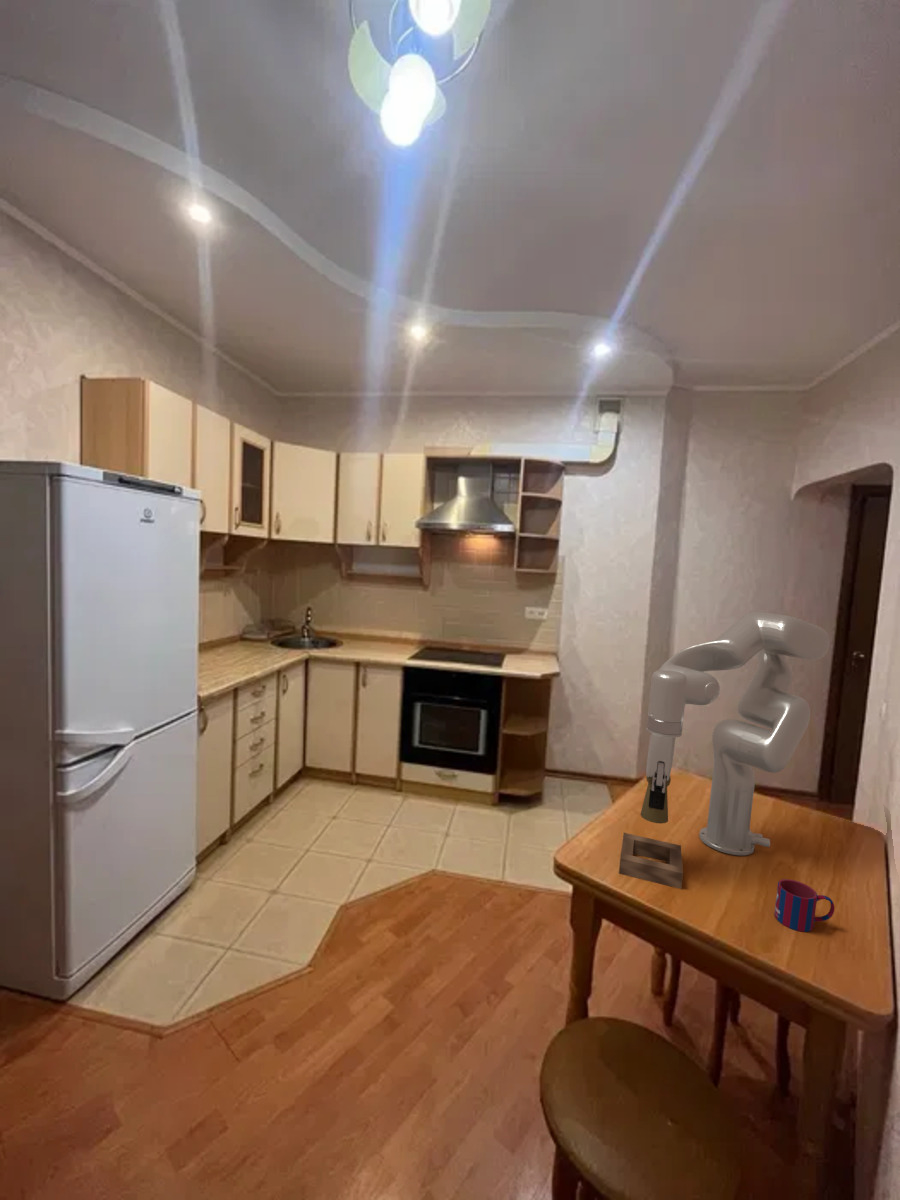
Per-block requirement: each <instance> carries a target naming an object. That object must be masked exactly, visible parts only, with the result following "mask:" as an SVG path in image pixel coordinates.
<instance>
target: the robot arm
mask: <svg viewBox="0 0 900 1200" xmlns="http://www.w3.org/2000/svg"><path fill="white" fill-rule="evenodd" d="M830 645H831V640H830V637H829V634H828V633H827V631H826V630H825V629H824V628H823V627H820V626H819V625H816V624H813V623H811V622H808V621H805V620H803V619H800V618H799V617H795V616H792V615H791V616H790V615H787V614H786V615H785V614H777V613H770V612H762V611H752V612H749V613H746V614H745V615H743V616H742V617H741V618H739V619H738V620H737V621H736V622H735V623H734V624H732V625H731V626H730V627H729V628H728V629H726V631H724V632H723V633H722V634H721V635H719V636H718V637H717V638H715V639H713V640H709V641H705V642H702V643H698V644H696V645H692V646H689V647H687V648H684V649H682V650H680V651H678V652H676V653H674V655H672V656H671V657H670V658H668V660H666V661H665V662H664V663H663V664H662V665H661V666H660V667H659V669H658V670H656V671H654V672H653V673H652V675H651V678H650V679H651V681H650V689H649V699H648V709H647V718H646V728H645V729H646V731H647V732H649V741H648V748H647V758H646V759H647V760H646V768H645V772H646V773H645V775H646V776H647V777H649V776H650V777H652V776H653V777H652V789H650V796H649V807H650V808H655V809H659V810H663V809H664V802H665V782H666V781H668V780H669V778H671V772H672V766H673V761H674V754H675V744H676V739H677V738H680V737H682V733H683V727H684V726H683V725H684V718H685V717H684V716H685V709H686V705H695V706H706V705H710V704H712V703H713V702H714V701H716V699H717V698H718V697H719V695H720V691H721V690H720V688H721V687H720V683H719V681H718V680H717V678H716V677H714V676H713V675H712V674H709V673H707V672H712V671H713V672H715V671H729V670H736V669H740V668H743V666H745V665H746V664H747V663H749V661H750V660H751V659H753V658H754V657H755V656H756V655H757V667H756V670H755V672H754V674H753V676H752V677H751V679H750V681H749V683H748V684H747V686H746V688H745V690H744V691H743V693H742V694H741V697H739V698H740V699H739V700H738V703H737V712H738V714H739V716H740V717H741V718H743V719H745V720H746V721H749V723H748V722H745V721H742V720H740V719H739V720H737V719H732V718H728V719H726V718H725V719H722V720H721V721H719V722H717V724H715V726H714V728H713V731H712V738H711V739H712V741H711V742H712V749H713V750H712V751H713V752H712V753H713V769H712V778H711V779H712V780H711V787H710V796H709V806H708V814H707V815H708V816H707V823H706V824H707V825H706V826H705V827H703V828H701V829H700V830H699V835H698V837H699V838H700V840H701V842H703V843H704V844H705V845H706V846H708V847H709V848H711V849H713V850H716V851H718V852H721V853H724V854H728V855H733V856H749V855H751V854H753V853H754V852H755V846H756V845H759V846H762V847H766V848H770V847H771V839H770V838H766V837H763V835H764V834H762V833H755V832H753V831H751V828H750V826H751V819H752V811H753V810H752V809H753V801H754V794H755V785H756V784H755V783H756V778H755V773H754V770H753V767H754V768H756V769H759V770H762V771H764V772H768V773H771V774H772V773H773V774H776V773H779V772H781V771H783V770H784V769H785V768H786V766H787V765H788V763H789V762H790V760H791V758H792V757H793V754H794V752H795V751H796V750H797V747H798V746H799V744H800V742H801V740H802V739H803V736H804V734H805V733H806V731H807V728H808V727H809V725H810V724H809V723H810V719H811V708H810V705H809V703H808V702H807V701H806V699H804V698H803V697H801V696H799V695H796V694H792V693H790V692H789V690H790V689H791V687H792V684H793V681H794V675H793V672H792V669H791V667H790V665H789V663H788V661H787V658H786V657H790V658H791V657H792V658H796V659H802V660H807V661H818V660H820V659H822V658H824V657H826V655H827V654H828V652H829V649H830ZM750 722H751V723H750ZM752 723H753V724H752ZM757 725H758V726H757ZM760 726H762V727H760ZM765 727H766V728H765ZM767 728H769V729H771V730H769V729H767ZM655 774H656V775H657V777H655ZM663 776H664V778H663ZM655 780H656V782H655ZM662 782H663V783H662Z"/></svg>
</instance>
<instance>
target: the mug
mask: <svg viewBox="0 0 900 1200" xmlns="http://www.w3.org/2000/svg"><path fill="white" fill-rule="evenodd" d="M821 900H826V901H828V902H829V904H830V909H829V911H828V913H826V914H825V915H822V916H816V911H817V910H816V908H817V904H818V903H817V902H818V901H821ZM834 913H835V904H834V901H833V900H832V898H830V897H829V896H827V895H823V894H818V893H817V892H816V890H814V889H813V888H812V887H811V886H809V885H807V884H806V883H803V882H801V881H797V880H795V879H788V878H787V879H785V878H783V879H780V880H779V881H778V882H777V888H776V898H775V905H774V917H775V918H776V919H775V920H776V921H777V922H779V923H780V924H782V926H785V927H786V928H789V929H790V930H793V931H797V932H800V933H801V932H802V933H808V932H812V930H813V929H814V924H815V923H816V922H817V923H818V922H819V923H820V922H825V921H828V920H830V919H831V918H832V917H833V915H834Z"/></svg>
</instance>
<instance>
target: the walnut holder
mask: <svg viewBox="0 0 900 1200" xmlns="http://www.w3.org/2000/svg"><path fill="white" fill-rule="evenodd" d="M621 842H622V843H621V851H620V857H619V867H618V868H619V870H618V874H620V875H622V876H623V875H625V876H627V877H628V876H629V877H631V878H635V879H640V880H644V881H649V882H652V883H655V884H656V883H657V884H661V885H664V886H668V887H673V888H676V889H679V888H680V889H682V887H683V877H684V871H683V868H684V867H683V855H682V854H683V853H682V846H681V845H682V844H675V843H672V842H668V841H664V840H663V841H662V840H659V839H654V838H649V837H645V836H640V835H637V834H632V833H627V832H623V836H622V841H621ZM634 855H636V856H634ZM639 856H640V857H639ZM644 857H645V858H644ZM647 858H649V859H647ZM652 859H653V860H652ZM654 860H655V861H654ZM657 860H658V861H657ZM660 861H661V862H660ZM663 862H666V863H663Z"/></svg>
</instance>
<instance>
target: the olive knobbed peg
mask: <svg viewBox="0 0 900 1200" xmlns="http://www.w3.org/2000/svg"><path fill="white" fill-rule="evenodd" d="M652 777H653V776H652ZM652 777H650V776H649V777H647V776H646V778H645V779H646V781H647V786H646V789H645V790H646V791H645V794H644V797H643V798H644V799H643V803H642V807H641V811H640V817H641V818H642V819H643V820H645V821H648V822H650V823H653V824H666V823H668V822H669V806H668V805H669V803H668V799H669V798H668V787H669V786H670V784H671V778H672V777H670V778H669V780H668V781H666V782H665V802H664V809H663V810H659V809H655V808H650V807H649V796H650V789H652ZM655 777H657V775H656V774H655ZM663 778H664V776H663ZM655 782H656V780H655ZM662 783H663V782H662Z"/></svg>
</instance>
